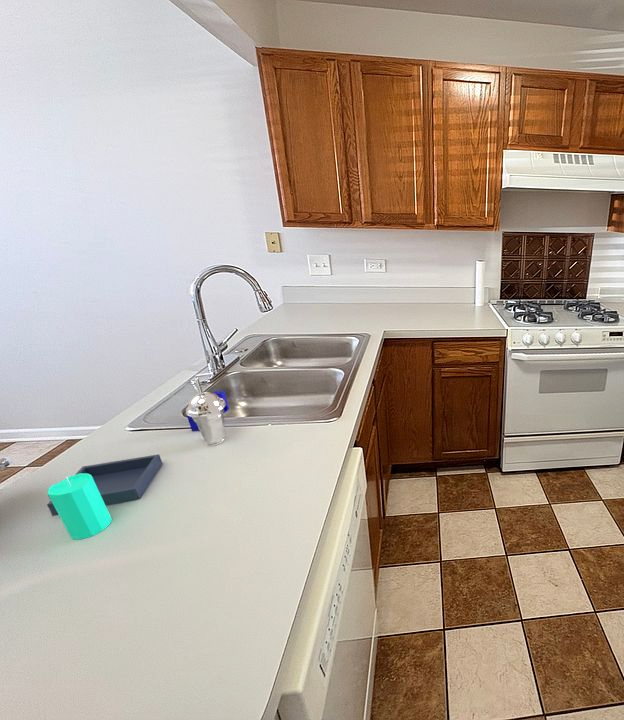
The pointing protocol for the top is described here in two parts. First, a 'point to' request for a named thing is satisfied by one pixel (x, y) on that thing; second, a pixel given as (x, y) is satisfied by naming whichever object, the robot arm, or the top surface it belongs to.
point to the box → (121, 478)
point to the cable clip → (222, 395)
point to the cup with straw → (208, 414)
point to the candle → (80, 506)
